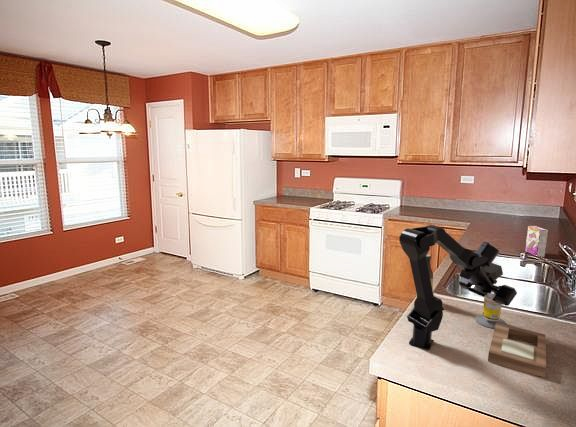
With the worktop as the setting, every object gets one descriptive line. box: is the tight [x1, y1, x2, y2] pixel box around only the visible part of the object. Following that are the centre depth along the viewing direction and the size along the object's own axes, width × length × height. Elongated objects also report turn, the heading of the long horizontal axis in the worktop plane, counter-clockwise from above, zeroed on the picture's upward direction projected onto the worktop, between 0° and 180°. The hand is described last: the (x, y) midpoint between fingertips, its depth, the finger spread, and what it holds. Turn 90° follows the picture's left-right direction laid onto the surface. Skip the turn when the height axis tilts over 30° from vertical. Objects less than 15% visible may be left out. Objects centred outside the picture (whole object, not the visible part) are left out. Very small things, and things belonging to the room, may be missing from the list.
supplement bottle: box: [482, 292, 502, 321], centre depth 130 cm, size 6×6×10 cm
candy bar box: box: [524, 225, 549, 258], centre depth 212 cm, size 11×5×16 cm, turn 179°
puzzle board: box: [487, 323, 547, 379], centre depth 112 cm, size 22×14×4 cm, turn 145°
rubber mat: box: [474, 314, 508, 330], centre depth 132 cm, size 10×10×1 cm
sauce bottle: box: [415, 253, 434, 298], centre depth 148 cm, size 7×6×20 cm
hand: (495, 300), depth 131 cm, fingers closed on supplement bottle, 5 cm apart
